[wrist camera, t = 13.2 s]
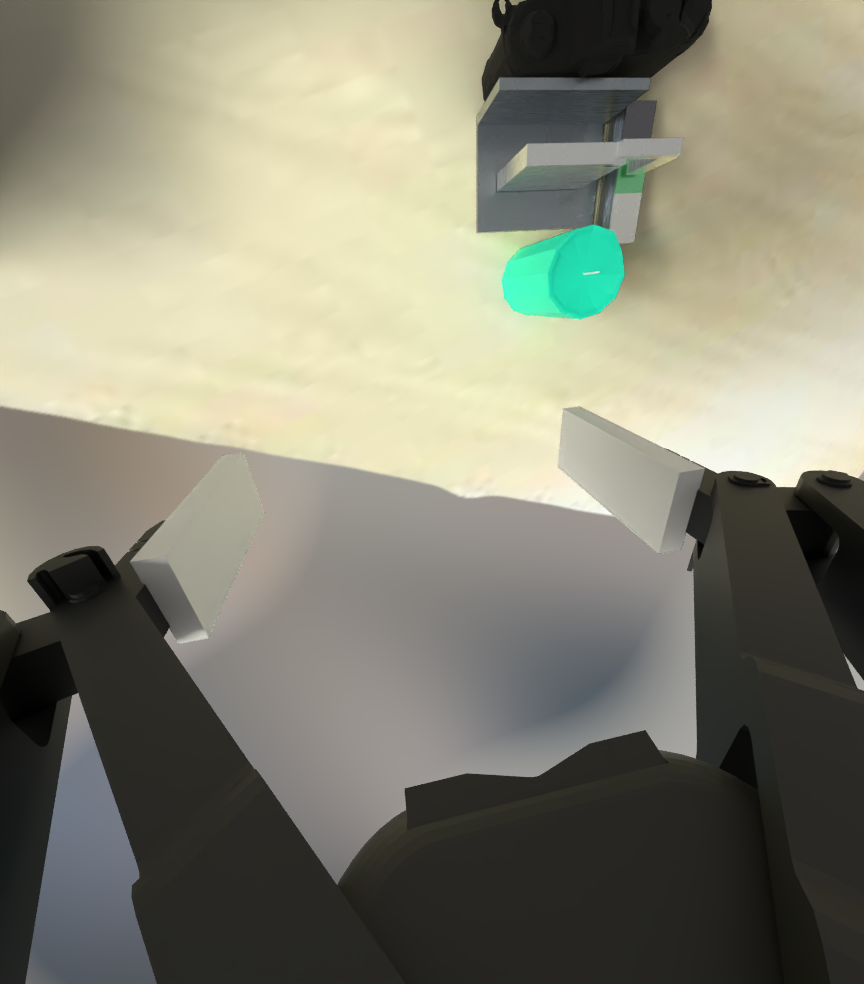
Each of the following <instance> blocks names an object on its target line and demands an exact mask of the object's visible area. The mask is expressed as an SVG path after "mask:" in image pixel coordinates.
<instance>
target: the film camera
mask: <svg viewBox="0 0 864 984" xmlns="http://www.w3.org/2000/svg"><path fill="white" fill-rule="evenodd" d="M498 1H499V0H495V1H494V4H493V7H492V18H493V21H494V24H495V25H496V26H497V27H499V28H501V36H500V38H499V40H498V42H497V44H496V46H495V48H494V50H493V52H492V54H491V56H490V58H489V59H488V60H487V63H486V66H485V69H484V73H483V76H482V87H483V99H484V101H485V102H486V100H487V98H488V96H489V95H490V93H491V91H492V90H493V88H494V86H495V85H496V83H497V81H498V79H499V78H651V77H652V76H653V75H655V74H656V73H657V72H659V71H660V70H661V69H662V68H663V67H665V66H666V65H667V64H668V63H670V62H671V61H672V60H673V59H675V58H676V57H677V56H679V55H680V54H682V53H683V52H684V51H686V50H687V49H688V48H689V47H690V46H692V45H693V44H694V42H695V41H696V40H697V39H698V38H699V37H700V36H701V35H702V34H703V32H704V30H705V28H706V26H707V24H708V23H709V15H710V12H711V9H712V0H526V1H523V2H519V4H518V5H512V4H511V3H510V1H509V0H505V2H506V4H505V9H506V12H505V14H502V13H501V10H500V7H499V2H498Z"/></svg>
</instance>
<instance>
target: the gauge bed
mask: <svg viewBox="0 0 864 984" xmlns="http://www.w3.org/2000/svg"><path fill="white" fill-rule="evenodd" d="M650 80H651V78H499V79H498V81H497V83H496V85H495V86H494V88H493V90H492V91H491V93H490V95H489V96H488V98H487V100H486V102H485V103H484V105H483V107H482V108H481V110H480V112H479V114H478V115H477V117H476V167H477V233H486V232H508V231H530V230H552V229H574V228H582V227H586V226H590V225H592V223H593V214H594V206H595V197H596V188H597V180H598V179H597V180H595V181H593V182H591V183H589V184H587V185H586V186H584V187H582V188H580V189H559V190H529V191H498V192H497V174H498V173H499V172H500V171H501V170H502V169H503V168H504V167H505V166H506V165H507V164H508V163H509V162H510V161H511V160H512V159H513V158H514V157H515V156H516V155H517V154H518V153H519V152H520V151H521V150H522V149H523V148H524V147H525V146H526V145H527V144H537V143H591V142H602V137H603V128H604V123H606V122H607V121H608V125H607V134H606V142H620V141H621V140H623V139H651V134H652V128H653V122H654V116H655V109H656V103H657V101H635V100H636V99H637V98H639V97H640V96H641V95H643V94H644V93H645V92H647V91H648V90H649V87H650ZM629 160H631V159H627V163H628V161H629ZM627 163H626V164H625V165H623V166H621V167H619V168H617V169H615V170H613V171H612V172H610V173H608V174H606V175H604V176H602V177H601V184H600V192H599V201H598V209H597V218H596V225H597V226H600V227H603V228H606V229H609V230H611V231H614V232H615V234H616V237H617V240H618V242H619V245H620V246H621V245H626V244H630V243H634V240H635V234H636V227H637V221H638V215H639V209H640V202H641V196H642V190H643V184H644V178H645V173H644V174H641V175H626V170H627Z"/></svg>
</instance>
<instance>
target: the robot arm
mask: <svg viewBox="0 0 864 984" xmlns="http://www.w3.org/2000/svg"><path fill="white" fill-rule="evenodd" d="M558 468H559V469H560V470H562V471H563V472H564V473H565V474H566V475H567V476H569V477H570V478H571V479H572V480H573V481H574V482H576V483H577V484H578V485H579V486H580V487H581V488H582V489H584V490H585V491H586V492H587V493H588V494H589V495H591V496H592V497H593V498H594V499H595V500H596V501H598V502H599V503H600V504H601V505H602V506H603V507H605V508H606V509H607V510H608V511H609V512H610V513H612V514H613V515H614V516H615V517H616V518H617V519H619V520H620V521H621V522H622V523H623V524H624V525H626V526H627V527H628V528H629V529H630V530H632V531H633V532H634V533H635V534H636V535H637V536H638V537H640V538H641V539H642V540H643V541H644V542H645V543H647V544H648V545H649V546H650V547H651V548H652V549H654V550H655V551H656V552H657V553H658V554H661V553H666V552H671V551H677V550H681V549H682V546H683V543H684V539H685V536H686V532H687V533H688V534H690V535H691V536H692V537H694V538H695V539H697V540H696V543H695V546H694V550H693V553H692V556H691V559H690V563H689V565H688V569H687V570H688V571H692V569H694V618H695V668H696V715H697V755H696V759H695V758H692V757H689V756H685V755H682V754H677V753H671V752H667V751H661V750H658V749H657V747H656V746H655V744H654V743H653V741H652V740H651V738H650V737H649V735H648V734H647V732H646V731H645V730H644V731H640V732H636V733H632V734H628V735H623V736H620V737H615V738H611V739H607V740H603V741H599V742H595V743H590V744H588V745H587V746H585V747H584V748H582V749H581V750H579V751H577V752H576V753H575V754H573V755H571V756H570V757H568V758H567V759H565V760H563V761H562V762H560V763H559V764H557V765H556V766H554V767H553V768H551V769H549V770H548V771H546V772H545V773H543V774H541V775H540V776H537V777H516V776H499V775H483V774H463V775H459V776H455V777H451V778H447V779H442V780H438V781H434V782H430V783H426V784H421V785H418V786H414V787H409V788H405V797H406V798H405V799H406V810H405V811H404V812H402V813H400V814H399V815H397V816H396V817H394V818H393V819H391V820H390V821H389V822H388V823H387V824H385V825H384V826H383V827H382V828H380V829H379V830H378V831H377V832H376V833H375V834H374V835H373V836H372V838H371V839H369V840H368V842H367V843H366V844H365V845H364V846H363V847H362V849H361V850H360V851H359V853H358V854H357V855H356V856H355V858H354V859H353V860H352V862H351V863H350V865H349V867H348V868H347V870H346V871H345V873H344V875H343V876H342V878H341V879H340V881H339V883H338V885H337V884H336V883H335V882H334V880H333V879H332V877H331V876H330V874H329V873H328V872H327V870H326V869H325V867H324V866H323V864H322V863H321V861H320V860H319V859H318V857H317V856H316V854H315V853H314V851H313V850H312V849H311V847H310V846H309V844H308V843H307V841H306V840H305V839H304V837H303V836H302V834H301V833H300V832H299V830H298V828H297V827H296V825H295V824H294V823H293V821H292V820H291V818H290V817H289V816H288V814H287V812H286V811H285V810H284V809H283V807H282V805H281V804H280V802H279V801H278V800H277V798H276V797H275V795H274V794H273V792H272V791H271V790H270V788H269V787H268V785H267V784H266V782H265V781H264V779H263V778H262V777H261V775H260V774H259V773H258V771H257V770H256V769H254V768H253V767H252V765H251V764H250V762H249V761H248V760H247V758H246V757H245V755H244V754H243V752H242V751H241V750H240V748H239V747H238V745H237V744H236V742H235V741H234V739H233V738H232V736H231V735H230V733H229V732H228V731H227V729H226V728H225V726H224V725H223V723H222V722H221V720H220V719H219V717H218V716H217V715H216V713H215V712H214V710H213V709H212V707H211V706H210V704H209V703H208V701H207V700H206V699H205V697H204V696H203V694H202V693H201V691H200V690H199V688H198V687H197V686H196V684H195V683H194V681H193V680H192V678H191V677H190V676H189V674H188V672H187V671H186V670H185V668H184V667H183V665H182V664H181V663H180V661H179V660H178V658H177V657H176V655H175V654H174V652H173V651H172V649H171V648H170V646H169V645H168V643H167V642H166V641H165V639H164V636H165V634H166V633H167V631H168V629H169V628H170V630H171V632H172V633H173V635H174V637H175V639H176V640H177V642H178V643H185V642H191V641H195V640H201V639H206V638H209V637H210V634H211V632H212V629H213V628H214V625H215V623H216V621H217V619H218V616H219V614H220V612H221V609H222V607H223V605H224V603H225V601H226V598H227V596H228V594H229V592H230V589H231V587H232V585H233V583H234V580H235V578H236V576H237V574H238V571H239V569H240V567H241V565H242V562H243V560H244V558H245V556H246V554H247V551H248V549H249V547H250V545H251V542H252V540H253V538H254V536H255V533H256V531H257V529H258V527H259V524H260V522H261V520H262V517H263V515H264V509H263V506H262V504H261V501H260V498H259V495H258V492H257V489H256V486H255V484H254V481H253V478H252V475H251V472H250V469H249V466H248V464H247V461H246V458H245V455H244V453H243V452H241V453H234V454H228V455H223V456H222V457H221V458H220V459H219V460H218V461H217V462H216V464H215V465H214V466H213V467H212V468H211V469H210V471H209V472H208V473H207V474H206V475H205V476H204V477H203V479H202V480H201V481H200V482H199V483H198V484H197V485H196V487H195V488H194V489H193V490H192V491H191V492H190V493H189V495H188V496H187V497H186V498H185V499H184V500H183V502H181V504H180V505H179V506H178V507H177V508H176V509H175V511H174V512H173V513H172V514H171V515H170V516H169V517H168V519H167V520H164V521H161V522H160V523H158V524H157V525H155V526H153V527H152V528H150V529H149V530H148V531H146V532H145V533H144V535H143V536H142V537H141V538H140V539H139V540H138V541H137V542H138V543H135V544H134V545H133V547H132V548H131V549H130V552H127V553H126V554H125V555H124V556H123V557H122V559H121V560H120V561H119V562H118V563H117V564H116V565H115V566H114V564H113V562H112V561H111V559H110V558H109V556H108V554H107V553H106V551H105V550H104V549H103V548H101V547H99V546H89V547H83V548H78V549H75V550H72V551H69V552H66V553H63V554H61V555H59V556H57V557H54V558H52V559H50V560H48V561H46V562H45V563H43V564H42V565H40V566H39V567H37V568H36V569H35V570H34V571H33V572H32V573H31V574H30V575H29V577H28V580H27V581H28V583H29V584H30V585H31V586H32V588H33V589H34V590H35V592H36V593H37V594H38V595H39V597H40V598H41V599H42V600H43V602H44V603H45V604H46V606H47V607H48V608H49V609H50V612H49V613H46V614H43V615H40V616H38V617H34V618H31V619H28V620H25V621H22V622H19V623H15V622H14V621H13V620H12V619H11V617H9V615H8V614H7V613H6V612H4V611H1V610H0V984H25V981H26V975H27V968H28V962H29V956H30V950H31V944H32V938H33V932H34V926H35V919H36V913H37V907H38V901H39V895H40V888H41V883H42V876H43V870H44V864H45V858H46V852H47V845H48V840H49V833H50V827H51V821H52V815H53V809H54V802H55V797H56V790H57V784H58V778H59V772H60V766H61V760H62V753H63V748H64V741H65V735H66V729H67V723H68V716H69V711H70V705H71V698H72V695H74V694H77V693H79V696H80V699H81V702H82V705H83V708H84V711H85V714H86V717H87V719H88V722H89V725H90V728H91V731H92V734H93V737H94V740H95V743H96V746H97V749H98V751H99V754H100V757H101V760H102V763H103V766H104V769H105V772H106V775H107V778H108V780H109V784H110V786H111V789H112V792H113V795H114V798H115V801H116V804H117V807H118V810H119V813H120V816H121V819H122V821H123V824H124V827H125V830H126V833H127V836H128V839H129V842H130V845H131V848H132V850H133V853H134V856H135V859H136V862H137V865H138V869H139V873H140V874H139V879H138V880H137V881H136V882H135V883H134V884H133V885H132V901H133V905H134V910H135V914H136V918H137V921H138V924H139V927H140V930H141V934H142V937H143V940H144V943H145V946H146V950H147V953H148V956H149V960H150V963H151V966H152V969H153V972H154V976H155V979H156V982H157V984H864V691H862V690H859V689H858V688H857V686H856V684H855V681H854V679H853V676H852V674H851V672H850V669H849V667H848V664H847V662H846V659H845V656H846V657H847V659H848V660H849V661H850V663H851V664H852V665H853V667H854V668H855V669H856V671H857V672H858V673H859V674H860V676H861V677H862V679H863V680H864V481H862V480H860V479H858V478H855V477H852V476H849V475H848V474H846V473H842V472H837V471H831V470H829V471H807V472H804V473H803V474H802V475H801V477H800V479H799V481H798V484H797V486H796V487H776V485H775V484H774V483H773V482H772V481H771V480H769V479H768V478H765V477H763V476H760V475H756V474H753V473H749V472H742V471H726V472H721V473H719V474H717V473H715V472H713V471H711V470H709V469H707V468H705V467H703V466H701V465H699V464H697V463H695V462H693V461H690V460H689V459H687V458H685V457H683V456H680V455H679V454H677V453H675V452H673V451H671V450H669V449H665V448H663V447H661V446H659V445H657V444H655V443H653V442H651V441H649V440H647V439H645V438H643V437H641V436H638V435H636V434H634V433H632V432H630V431H628V430H626V429H624V428H622V427H620V426H618V425H616V424H614V423H612V422H610V421H608V420H606V419H604V418H602V417H600V416H598V415H596V414H594V413H592V412H590V411H588V410H586V409H584V408H582V407H580V406H579V407H572V408H564V409H563V413H562V425H561V436H560V448H559V460H558ZM837 549H838V550H837ZM836 551H837V552H836ZM843 653H844V654H843ZM844 655H845V656H844Z"/></svg>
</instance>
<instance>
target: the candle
mask: <svg viewBox="0 0 864 984" xmlns="http://www.w3.org/2000/svg"><path fill="white" fill-rule="evenodd" d="M624 276H625V272H624V264H623V255H622V250H621V247H620V245H619V242H618V240H617V237H616V234H615V232H614V231H611V230H609V229H606V228H603V227H600V226H597V225H594V224H593V225H590V226H586V227H582V228H579V229H575V230H572V231H569V232H567V233H564V234H561V235H558V236H555V237H553V238H550V239H547V240H544V241H541V242H538V243H536V244H533V245H530V246H527V247H524V248H522V249H520V250H519V251H518V252H517V253H516V254H515V255H514V256H513V257H512V258H511V259H510V260H509V261H508V262H507V266H506V269H505V272H504V275H503V279H502V285H503V292H504V298H505V300H506V301H507V302H508V304H509V305H510V306H511V308H512V309H513V310H514V311H516V312H519V313H522V314H525V315H532V316H545V317H559V318H572V319H583V318H586V317H589V316H592V315H595V314H599V313H600V312H601V311H602V310H603V309H604V308H605V307H606V306H607V305H608V304H609V303H610V302H611V301H613V300H614V299H615V298H616V296H617V293H618V291H619V288H620V286H621V283H622V281H623V278H624Z"/></svg>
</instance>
